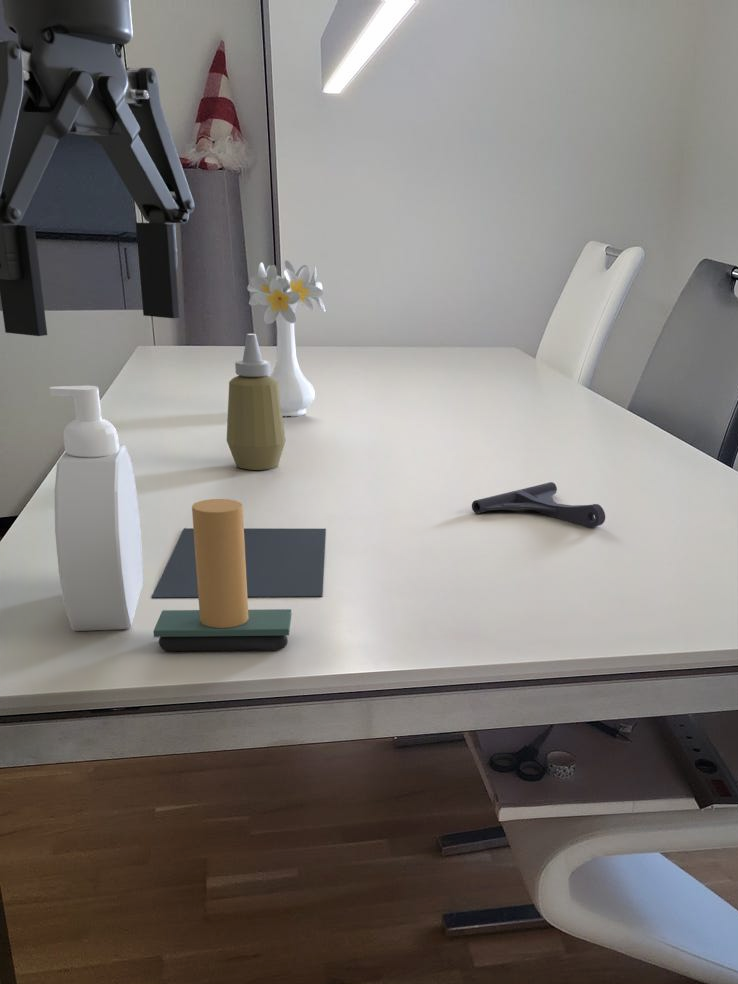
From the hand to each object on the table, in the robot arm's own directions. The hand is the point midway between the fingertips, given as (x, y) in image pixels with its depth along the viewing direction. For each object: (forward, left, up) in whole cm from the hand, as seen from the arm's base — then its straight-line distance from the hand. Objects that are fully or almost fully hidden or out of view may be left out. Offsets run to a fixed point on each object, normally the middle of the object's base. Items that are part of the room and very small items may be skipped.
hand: (99, 325), depth 72 cm
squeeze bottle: (+5, +69, -27) cm, 74 cm away
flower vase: (+8, +107, -27) cm, 110 cm away
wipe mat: (+7, +28, -27) cm, 39 cm away
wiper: (+7, +6, -27) cm, 28 cm away
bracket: (+43, +45, -27) cm, 67 cm away
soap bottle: (-5, +15, -27) cm, 31 cm away
